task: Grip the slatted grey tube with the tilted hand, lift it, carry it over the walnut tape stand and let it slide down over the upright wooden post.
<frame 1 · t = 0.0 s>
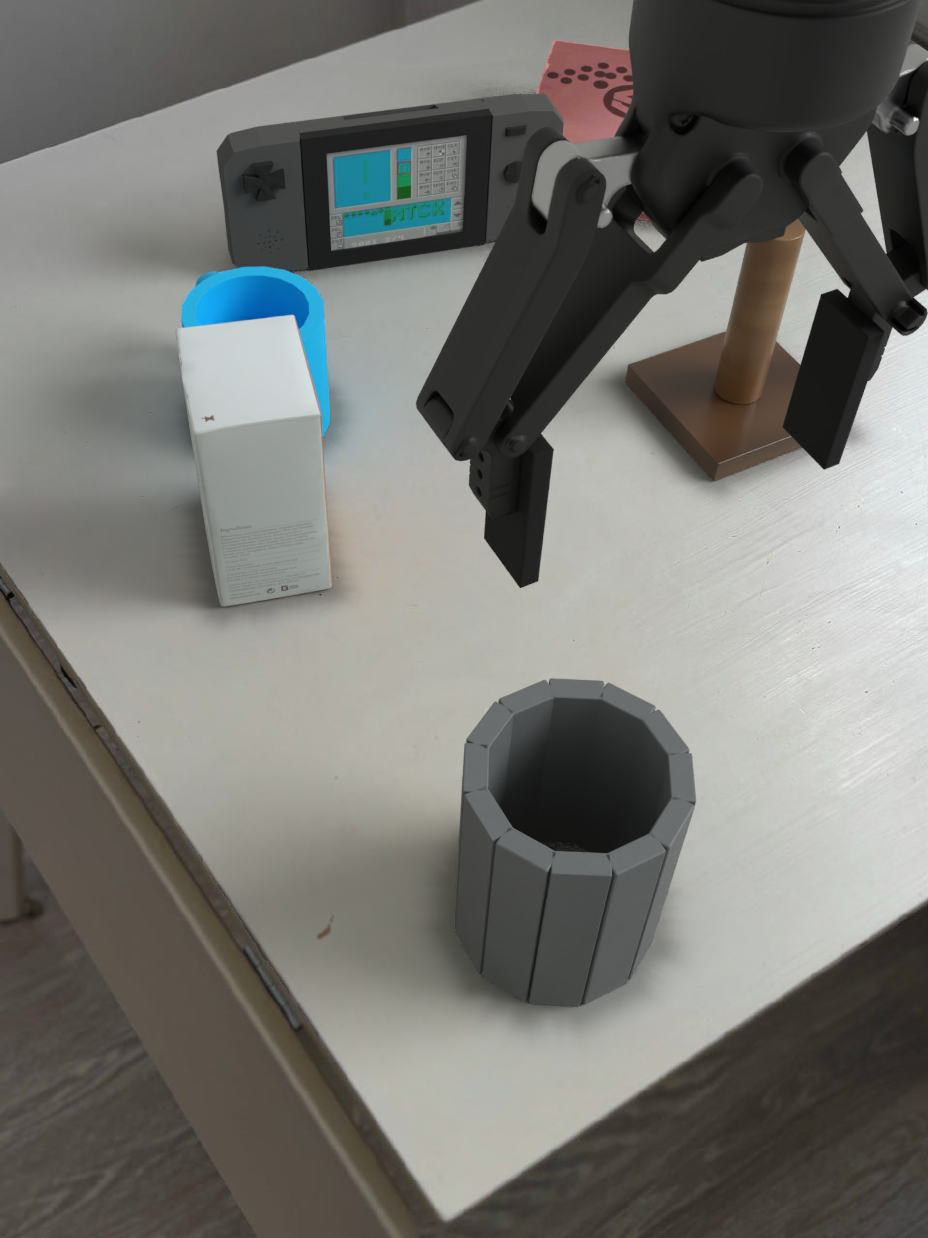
hand: (666, 500, 51), 21 cm above the table, tool pointing down, fingers open, 13 cm apart
handheld gaming console: (394, 251, 95), on the table
tape stand: (733, 406, 86), on the table
book: (631, 164, 103), on the table
slatted grey tube: (553, 911, 63), on the table
small box: (266, 549, 77), on the table
mug: (250, 400, 85), on the table
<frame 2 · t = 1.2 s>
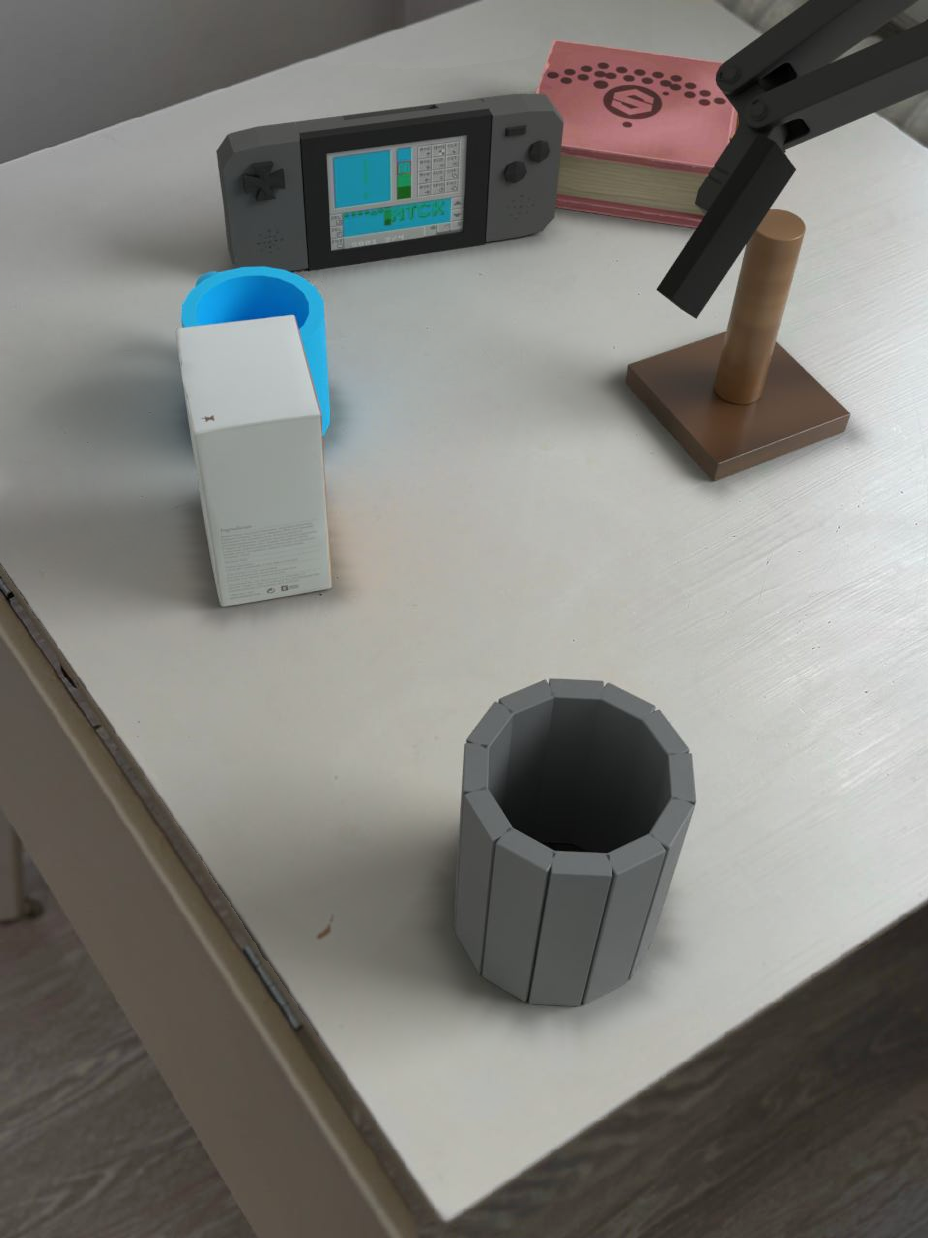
hand: (819, 397, 48), 25 cm above the table, tool tilted 45°, fingers open, 13 cm apart
nothing on the table moved.
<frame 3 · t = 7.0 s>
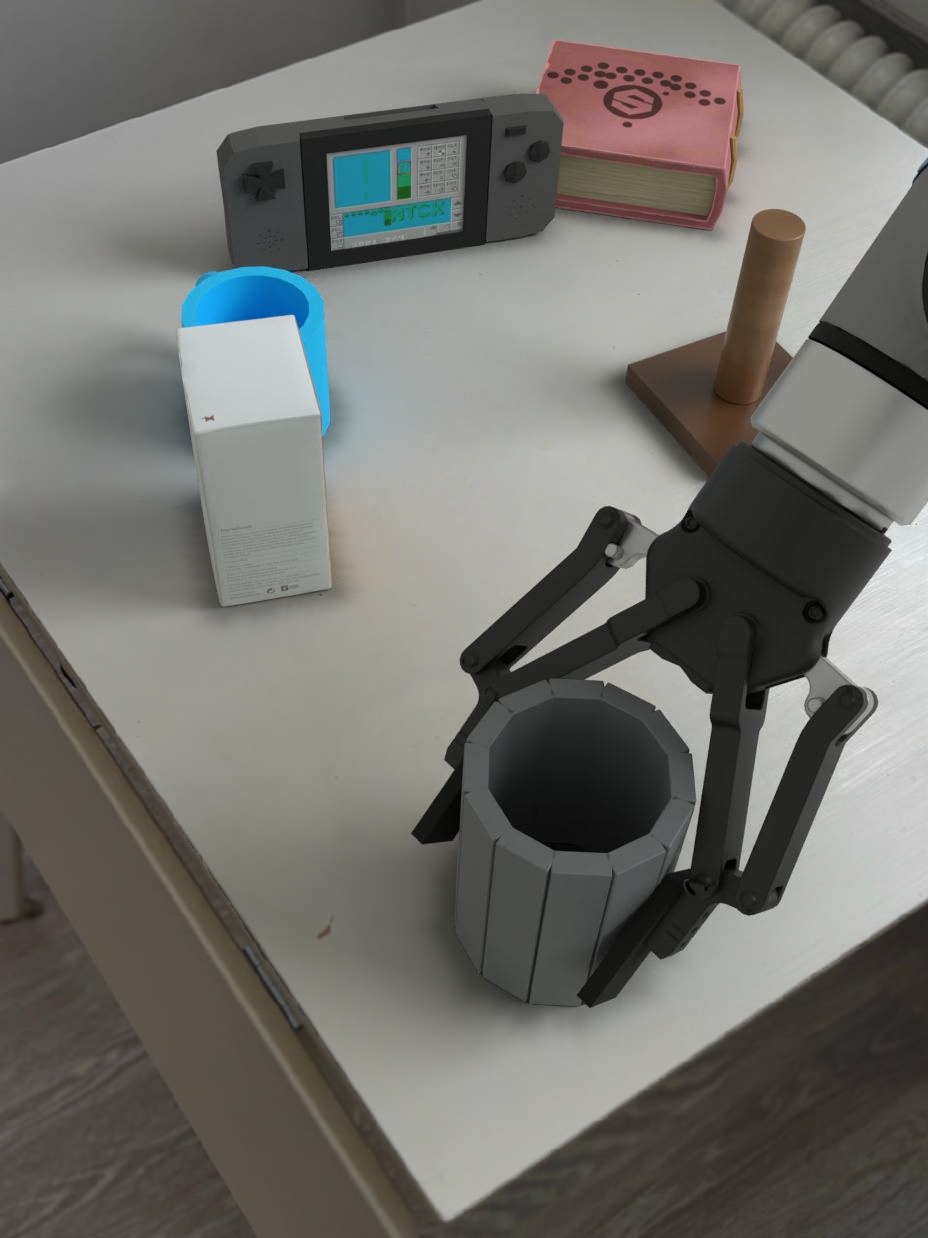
hand: (511, 914, 59), 4 cm above the table, tool tilted 45°, fingers closed on slatted grey tube, 9 cm apart
slatted grey tube: (553, 911, 63), on the table, touching gripper
everything else where it was.
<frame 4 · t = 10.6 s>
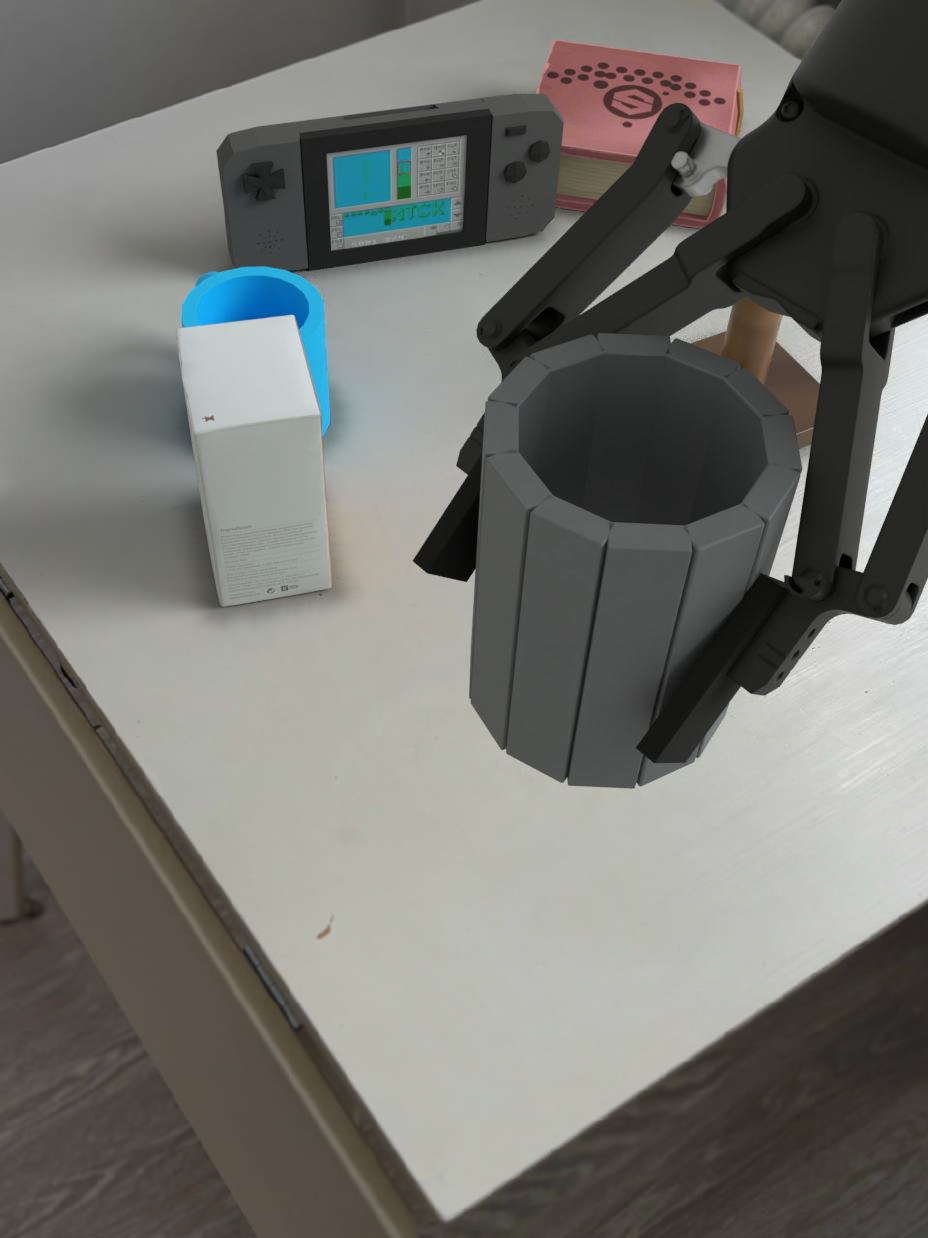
hand: (545, 659, 45), 22 cm above the table, tool tilted 45°, fingers closed on slatted grey tube, 9 cm apart
slatted grey tube: (597, 679, 49), point 18 cm above the table, touching gripper
everything else where it was.
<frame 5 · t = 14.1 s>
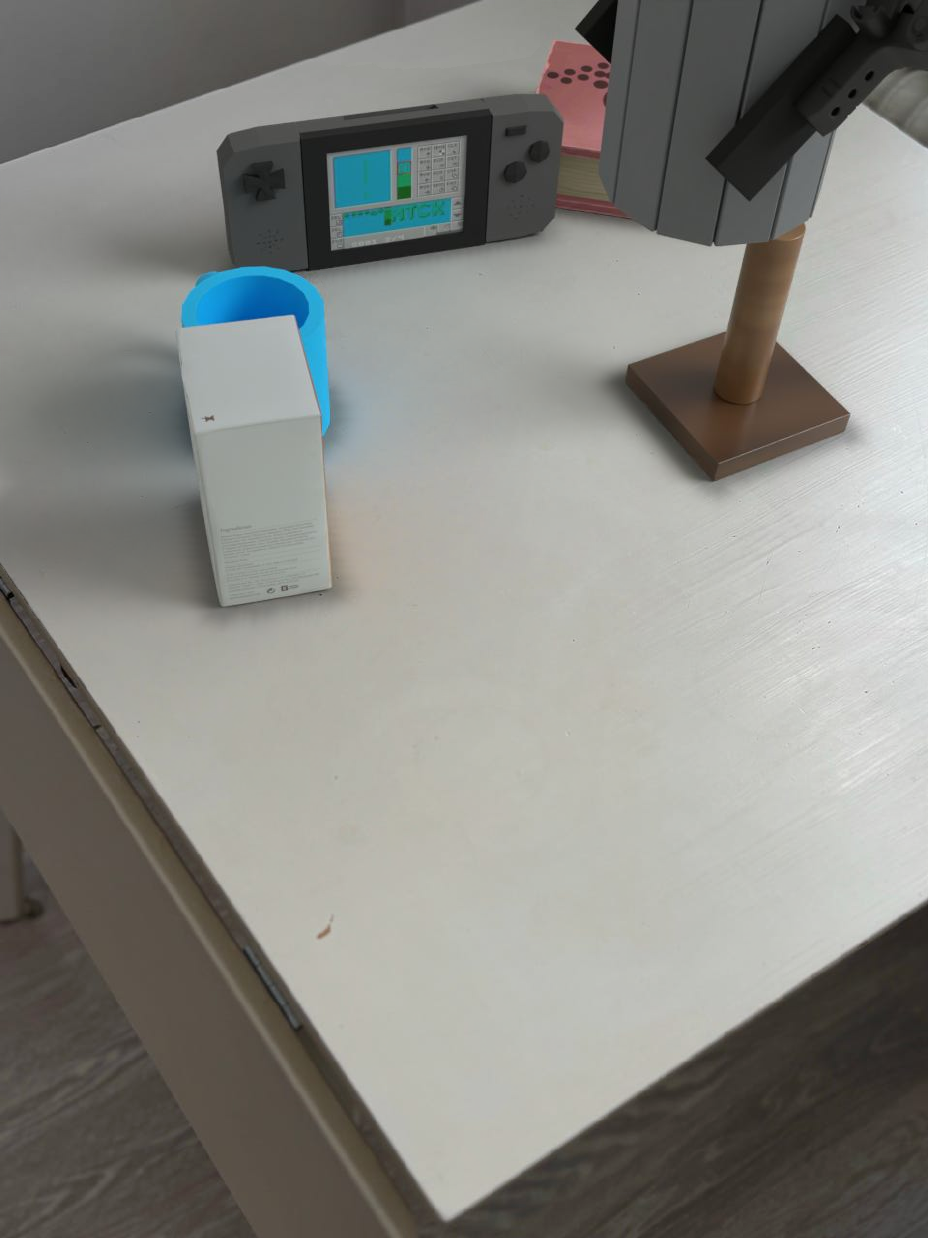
hand: (658, 111, 54), 29 cm above the table, tool tilted 45°, fingers closed on slatted grey tube, 9 cm apart
slatted grey tube: (709, 179, 58), point 25 cm above the table, touching gripper
everything else where it was.
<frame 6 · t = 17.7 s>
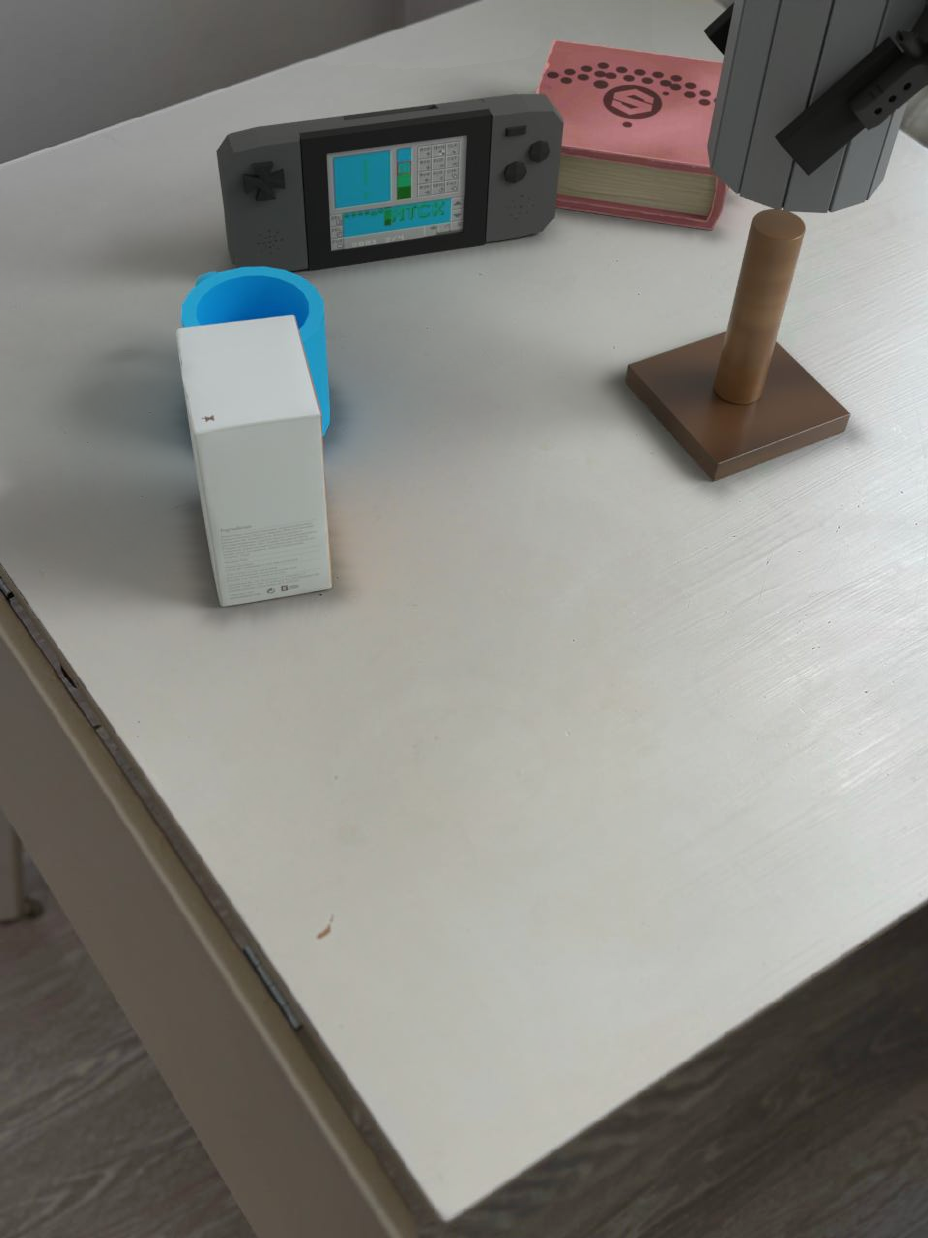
hand: (754, 100, 69), 21 cm above the table, tool tilted 45°, fingers closed on slatted grey tube, 9 cm apart
slatted grey tube: (794, 162, 72), point 17 cm above the table, touching gripper
everything else where it was.
when the fingers open (11 cm above the table, at t = 21.1 s): slatted grey tube drops 5 cm, resting on tape stand.
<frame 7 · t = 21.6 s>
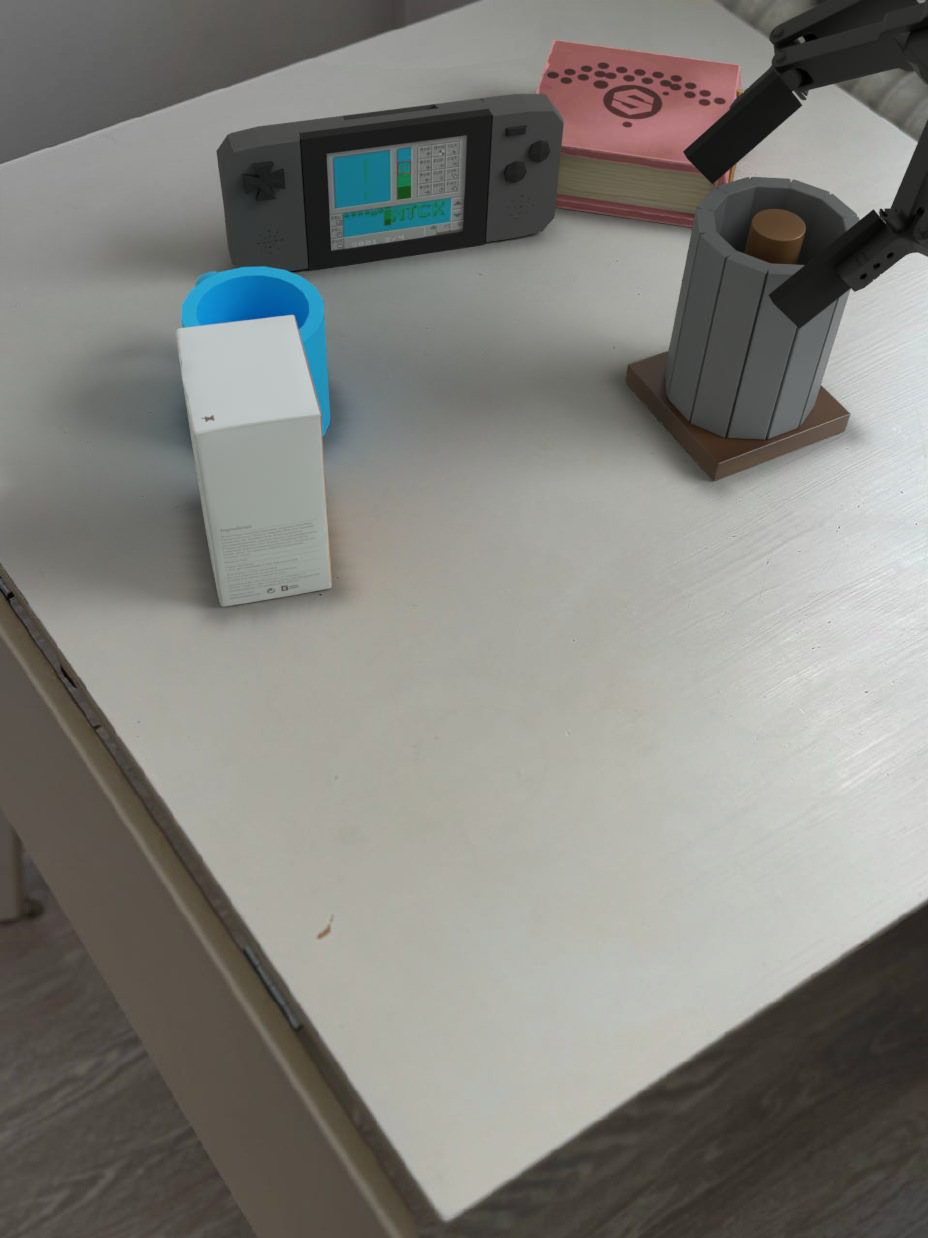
hand: (737, 236, 75), 13 cm above the table, tool tilted 45°, fingers open, 13 cm apart
slatted grey tube: (738, 388, 85), point 1 cm above the table, touching tape stand
everything else where it was.
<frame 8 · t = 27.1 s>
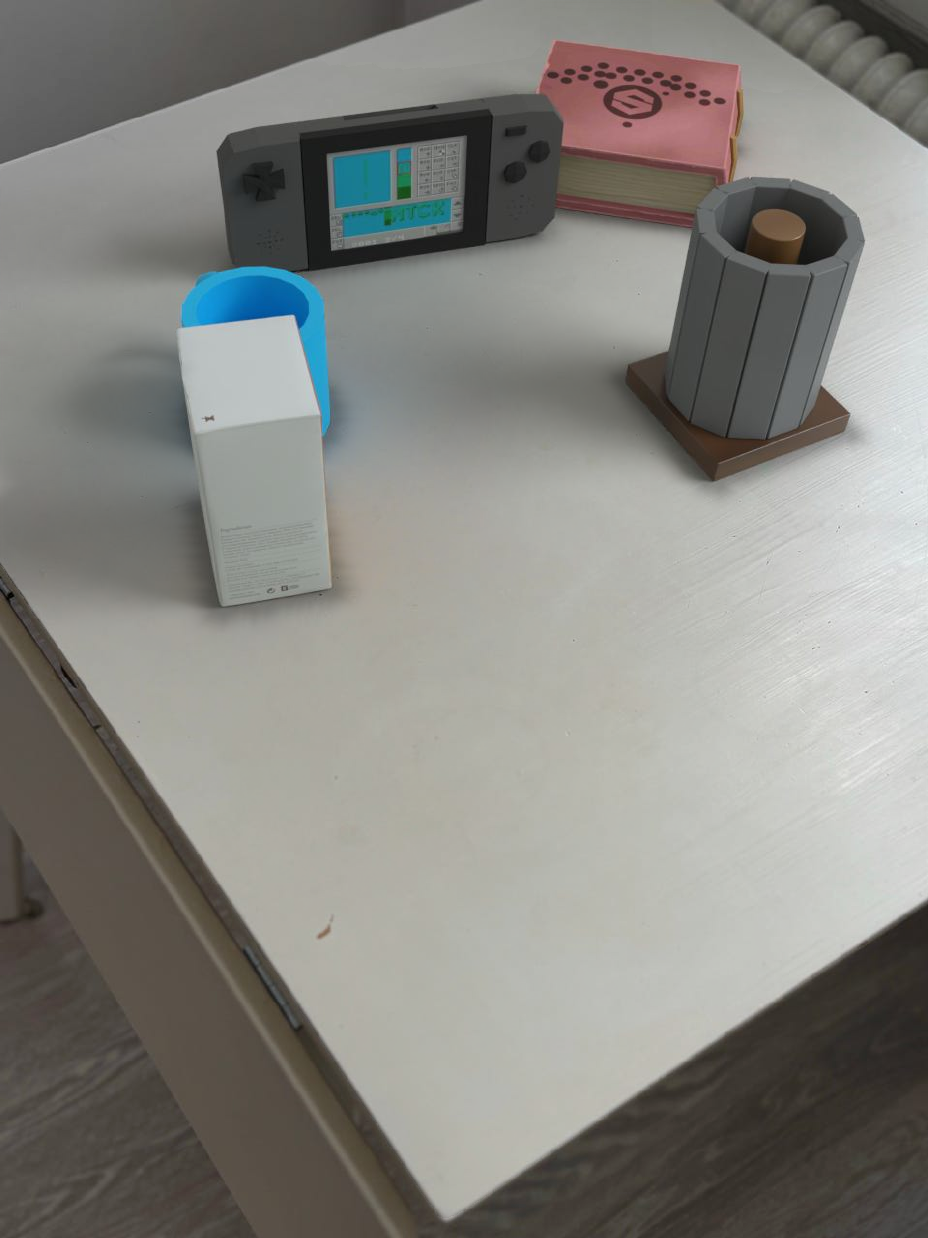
nothing on the table moved.
at the end: slatted grey tube 0.1 cm from the tape stand (horizontally); slatted grey tube point 1.5 cm above the table; the gripper is holding nothing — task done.
